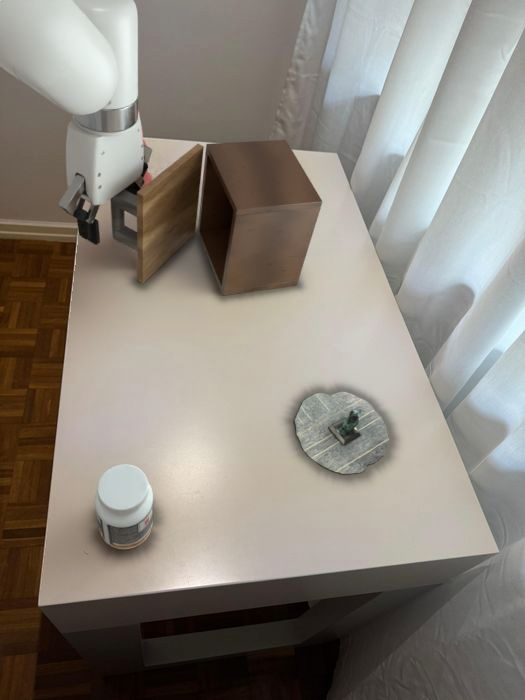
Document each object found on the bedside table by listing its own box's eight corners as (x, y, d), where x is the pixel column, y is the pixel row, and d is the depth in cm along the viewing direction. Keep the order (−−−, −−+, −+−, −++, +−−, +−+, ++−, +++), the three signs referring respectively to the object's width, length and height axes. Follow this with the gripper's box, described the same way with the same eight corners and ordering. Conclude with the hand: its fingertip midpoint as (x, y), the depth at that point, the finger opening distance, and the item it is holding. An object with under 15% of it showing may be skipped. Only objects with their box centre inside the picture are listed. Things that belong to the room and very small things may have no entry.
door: (103, 262, 84) (97, 172, 72) (159, 214, 92) (162, 126, 80) (142, 283, 83) (143, 195, 71) (195, 233, 91) (203, 146, 79)
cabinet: (222, 295, 84) (236, 209, 72) (197, 232, 92) (206, 143, 79) (297, 285, 88) (322, 201, 76) (267, 224, 96) (285, 139, 83)
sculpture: (395, 414, 77) (405, 423, 69) (365, 475, 77) (372, 490, 69) (314, 375, 78) (315, 379, 70) (285, 435, 78) (282, 446, 70)
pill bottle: (162, 513, 63) (165, 474, 55) (134, 560, 60) (133, 526, 52) (117, 490, 64) (114, 448, 56) (87, 535, 60) (79, 498, 53)
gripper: (127, 69, 73) (129, 183, 87) (24, 123, 63) (45, 243, 76) (175, 93, 71) (170, 205, 85) (78, 152, 61) (89, 269, 75)
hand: (111, 222), depth 81 cm, fingers open, 8 cm apart
